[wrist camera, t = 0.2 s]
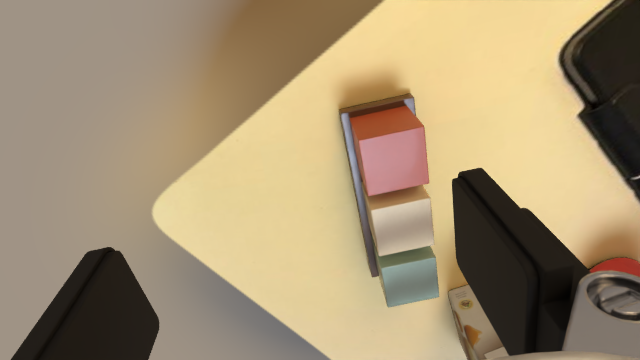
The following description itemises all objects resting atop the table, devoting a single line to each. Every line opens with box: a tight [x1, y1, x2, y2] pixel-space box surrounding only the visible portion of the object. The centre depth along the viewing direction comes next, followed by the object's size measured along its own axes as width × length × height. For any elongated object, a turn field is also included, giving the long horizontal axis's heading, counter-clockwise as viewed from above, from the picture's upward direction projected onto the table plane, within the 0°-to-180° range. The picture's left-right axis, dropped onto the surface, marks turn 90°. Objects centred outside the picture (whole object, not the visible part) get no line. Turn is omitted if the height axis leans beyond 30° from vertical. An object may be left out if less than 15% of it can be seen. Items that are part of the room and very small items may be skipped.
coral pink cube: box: [350, 106, 429, 196], centre depth 29 cm, size 4×4×4 cm
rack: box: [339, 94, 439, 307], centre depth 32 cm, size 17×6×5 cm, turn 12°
